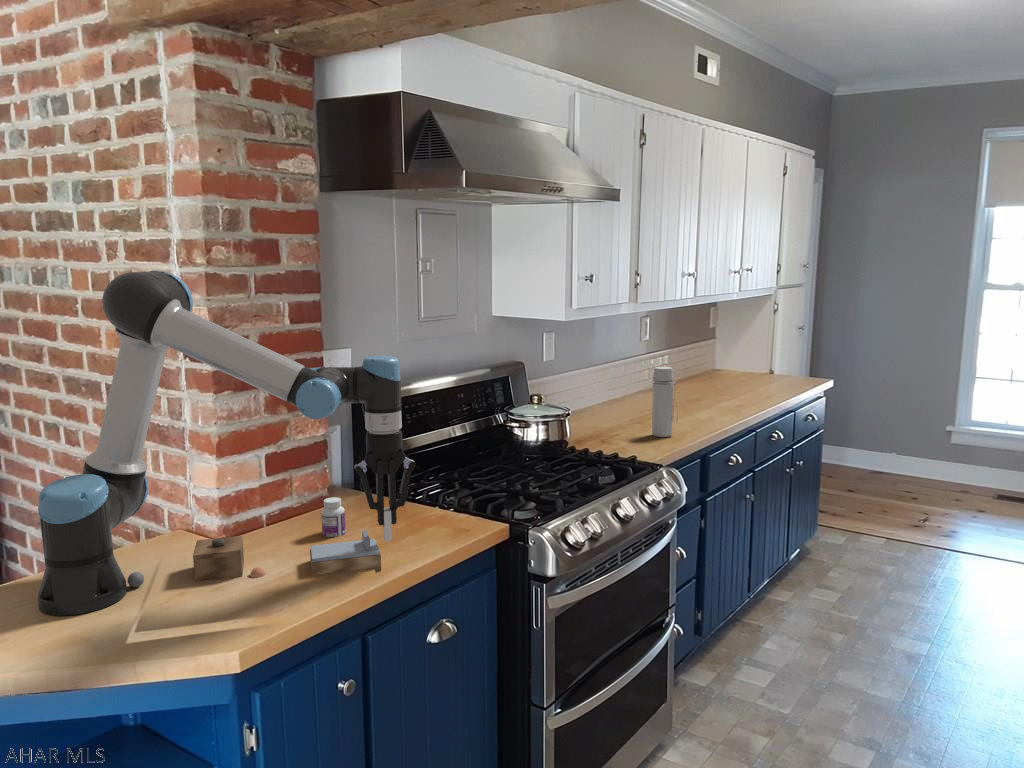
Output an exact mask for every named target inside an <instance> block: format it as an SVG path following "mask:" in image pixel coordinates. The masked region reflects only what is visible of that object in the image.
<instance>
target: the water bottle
mask: <svg viewBox="0 0 1024 768" xmlns="http://www.w3.org/2000/svg"><path fill="white" fill-rule="evenodd" d="M676 383H677V381H674V368H673V367H670V366H656V367H654V368H653V376H652V411H651V412H652V414H651V415H652V416H651V417H652V421H651V422H652V423H651V424H652V425H651V433H652V436H654V437H657V438H668V437H671V436H672V435H673V423H674V424H677V423H678V421H679V420H678V419H679V418H678V417H679V414H678V413H679V411H678V410H676V415H677V417H676V421H675V420H674V419H673V415H674V414H675V413H674V411H675V408H674V407H675V406H678V404H677V403H678V402H677V400H675V401H674V395H677V394H676V393H677V392H676ZM675 404H676V405H675Z"/></svg>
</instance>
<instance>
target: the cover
mask: <svg viewBox="0 0 1024 768" xmlns="http://www.w3.org/2000/svg"><path fill="white" fill-rule="evenodd" d="M192 562H193V575H194V582H195V583H197V582H205V581H214V580H224V579H233V578H241V577H243V575H244V574H243V572H244V563H245V555H244V541H243V535H236V536H235V535H234V536H226V537H216V538H207V539H197V540H196V544H195V546H194V550H193V553H192Z"/></svg>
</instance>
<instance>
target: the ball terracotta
mask: <svg viewBox="0 0 1024 768" xmlns="http://www.w3.org/2000/svg"><path fill="white" fill-rule="evenodd" d="M266 574H267V572H266V569H264V568H263V567H261V566H256V567H254V568H253V569H252V570H251V571H250V577H251V578H262V577H264V576H266Z"/></svg>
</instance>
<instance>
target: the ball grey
mask: <svg viewBox="0 0 1024 768" xmlns="http://www.w3.org/2000/svg"><path fill="white" fill-rule="evenodd" d="M144 582H145V577H144V575H143V573H142V572H139V571H134V572H132V573H130V574H129V575H128V578H127V584H128V585H129V586H130V587H131V588H138V587H140V586H142V585H143V583H144Z"/></svg>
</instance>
